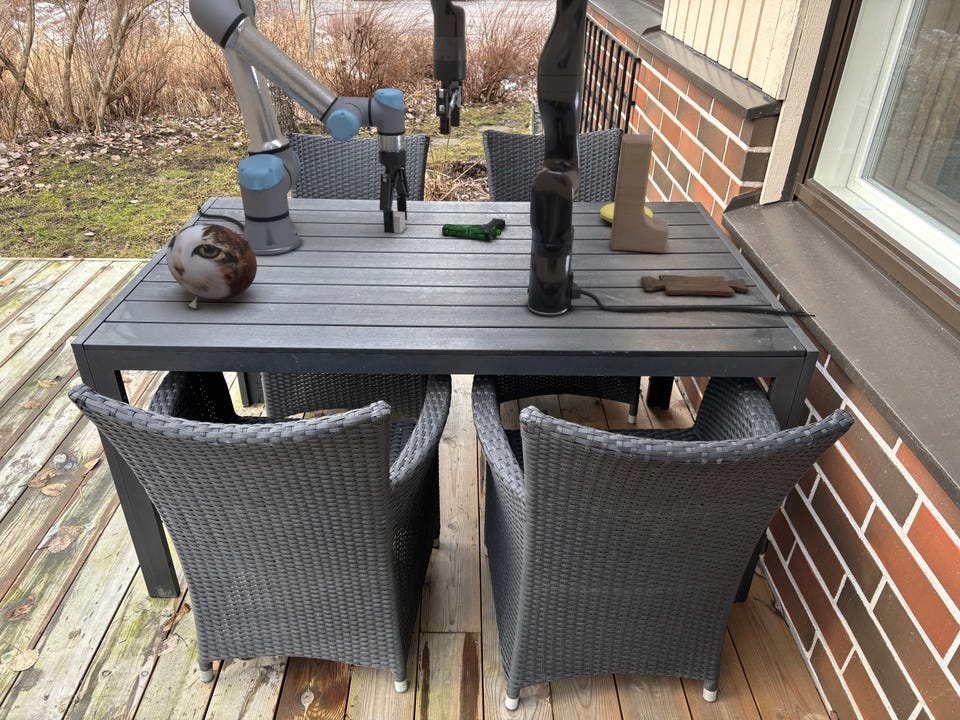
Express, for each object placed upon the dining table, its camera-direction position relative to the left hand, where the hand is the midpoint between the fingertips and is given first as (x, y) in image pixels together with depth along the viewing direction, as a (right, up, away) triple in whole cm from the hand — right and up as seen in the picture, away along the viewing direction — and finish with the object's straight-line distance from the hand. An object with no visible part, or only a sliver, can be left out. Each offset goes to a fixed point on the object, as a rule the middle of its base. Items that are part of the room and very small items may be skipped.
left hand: (396, 225), depth 208 cm
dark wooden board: (+78, -21, -31) cm, 86 cm away
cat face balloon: (-37, -24, -39) cm, 59 cm away
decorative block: (+68, -8, -9) cm, 69 cm away
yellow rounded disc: (+69, +3, +9) cm, 69 cm away
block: (0, -1, +1) cm, 1 cm away
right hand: (+17, +15, -39) cm, 45 cm away
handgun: (+23, -2, 0) cm, 24 cm away
